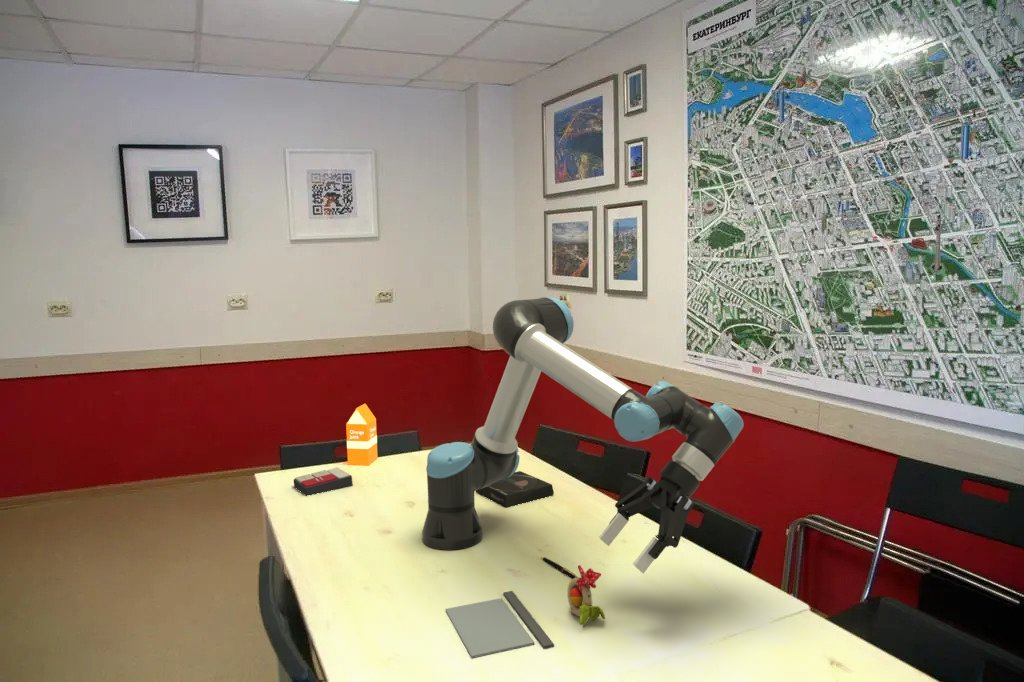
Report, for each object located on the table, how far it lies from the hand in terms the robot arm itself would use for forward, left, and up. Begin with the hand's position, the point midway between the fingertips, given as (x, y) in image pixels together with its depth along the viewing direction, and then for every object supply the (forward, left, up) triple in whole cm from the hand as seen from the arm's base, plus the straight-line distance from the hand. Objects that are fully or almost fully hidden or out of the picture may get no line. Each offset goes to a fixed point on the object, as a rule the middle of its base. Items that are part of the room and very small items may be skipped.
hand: (619, 555), depth 137 cm
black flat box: (-74, +5, -13) cm, 75 cm away
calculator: (-104, -48, -13) cm, 115 cm away
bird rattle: (-1, -8, -12) cm, 15 cm away
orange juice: (-126, -32, -12) cm, 130 cm away
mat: (-5, -24, -12) cm, 27 cm away
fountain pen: (-23, -3, -12) cm, 26 cm away
